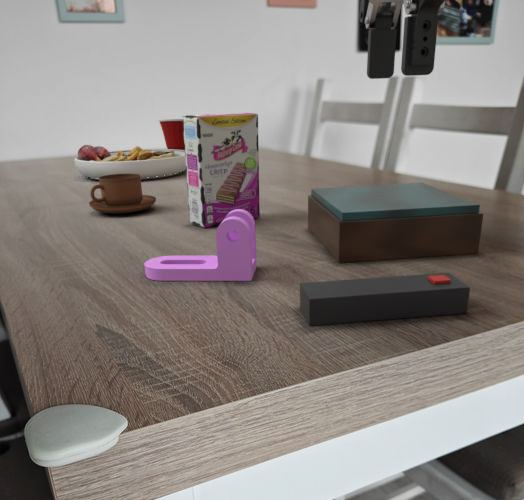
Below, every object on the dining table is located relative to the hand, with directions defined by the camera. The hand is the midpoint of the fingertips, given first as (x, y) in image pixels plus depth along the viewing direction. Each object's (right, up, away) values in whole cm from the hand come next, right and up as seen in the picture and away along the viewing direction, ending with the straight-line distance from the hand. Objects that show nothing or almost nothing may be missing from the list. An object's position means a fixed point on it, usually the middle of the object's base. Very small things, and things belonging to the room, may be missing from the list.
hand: (396, 77), depth 44 cm
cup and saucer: (-36, +4, +58) cm, 68 cm away
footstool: (+6, -6, +33) cm, 34 cm away
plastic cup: (-38, +41, +138) cm, 149 cm away
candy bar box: (-17, -1, +47) cm, 50 cm away
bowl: (-45, +25, +103) cm, 115 cm away
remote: (+1, -18, +9) cm, 20 cm away
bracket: (-18, -13, +21) cm, 31 cm away
